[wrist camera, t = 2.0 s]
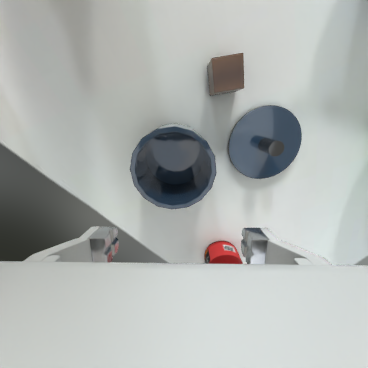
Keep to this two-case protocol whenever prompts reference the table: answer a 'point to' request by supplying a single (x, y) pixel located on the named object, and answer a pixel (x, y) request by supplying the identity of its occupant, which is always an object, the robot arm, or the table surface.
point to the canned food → (222, 254)
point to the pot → (173, 166)
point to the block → (226, 74)
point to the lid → (265, 141)
